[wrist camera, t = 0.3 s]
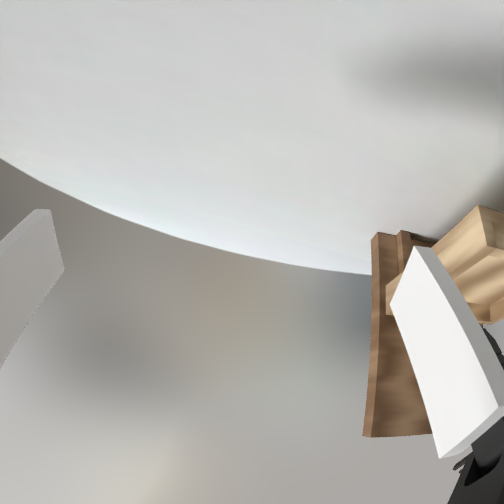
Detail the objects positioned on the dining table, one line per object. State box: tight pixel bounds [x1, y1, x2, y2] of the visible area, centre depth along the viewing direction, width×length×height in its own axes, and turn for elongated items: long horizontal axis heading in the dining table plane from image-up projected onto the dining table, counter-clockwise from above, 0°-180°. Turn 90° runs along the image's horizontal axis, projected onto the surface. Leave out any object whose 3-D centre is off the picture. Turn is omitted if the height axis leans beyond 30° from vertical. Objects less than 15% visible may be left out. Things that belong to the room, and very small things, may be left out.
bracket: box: [363, 205, 504, 437], centre depth 24 cm, size 15×18×22 cm
